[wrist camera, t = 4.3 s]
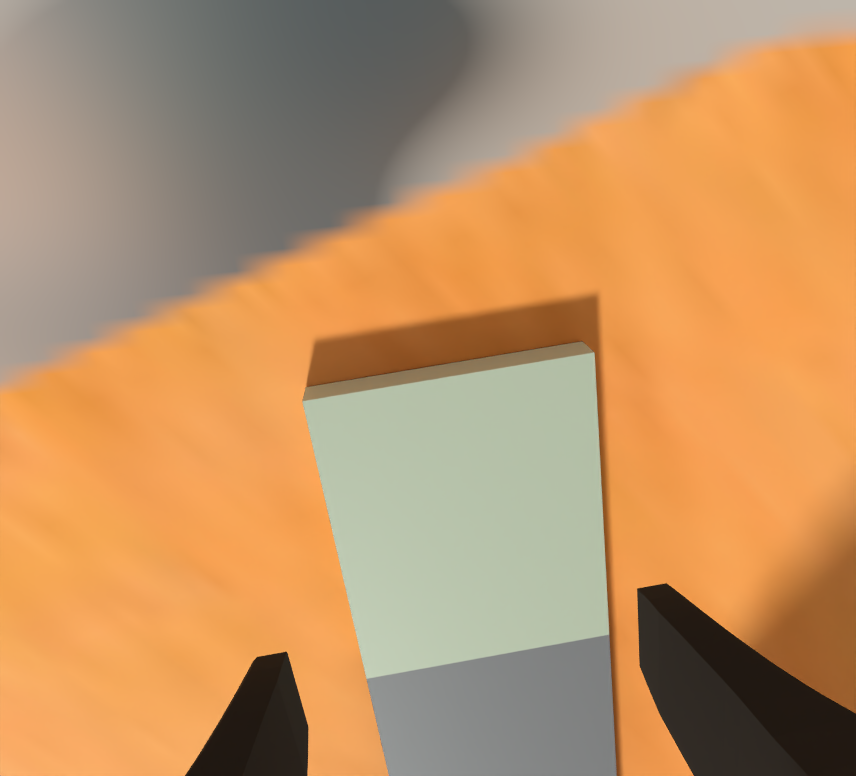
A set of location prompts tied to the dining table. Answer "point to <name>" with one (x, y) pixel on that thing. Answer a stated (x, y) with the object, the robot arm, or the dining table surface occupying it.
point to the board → (475, 560)
